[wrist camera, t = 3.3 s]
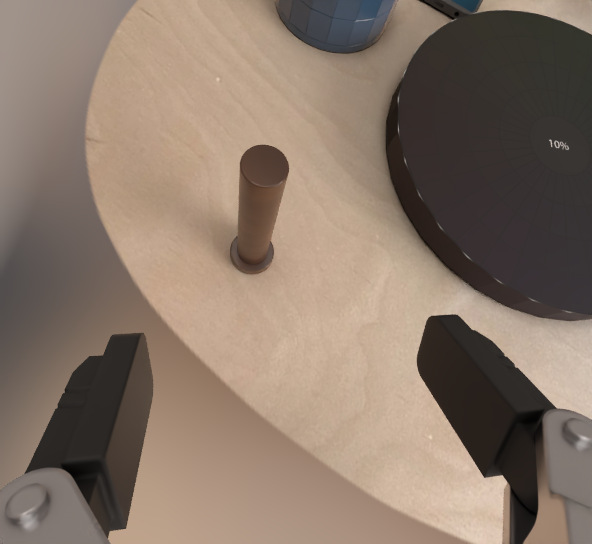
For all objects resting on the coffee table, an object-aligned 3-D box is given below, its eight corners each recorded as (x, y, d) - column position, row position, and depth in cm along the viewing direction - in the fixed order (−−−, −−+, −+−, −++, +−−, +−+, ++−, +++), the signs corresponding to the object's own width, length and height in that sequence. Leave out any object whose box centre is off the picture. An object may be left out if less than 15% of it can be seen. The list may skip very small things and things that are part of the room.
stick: (242, 281, 28) (249, 209, 16) (223, 245, 28) (215, 149, 17) (280, 262, 29) (312, 181, 17) (260, 227, 29) (278, 125, 17)
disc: (617, 45, 42) (645, 21, 39) (720, 310, 34) (765, 304, 31) (362, 25, 37) (373, -5, 34) (414, 333, 29) (434, 328, 26)
